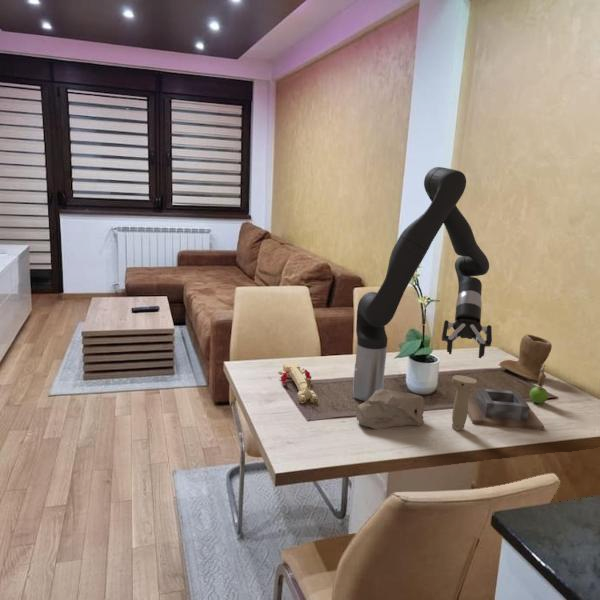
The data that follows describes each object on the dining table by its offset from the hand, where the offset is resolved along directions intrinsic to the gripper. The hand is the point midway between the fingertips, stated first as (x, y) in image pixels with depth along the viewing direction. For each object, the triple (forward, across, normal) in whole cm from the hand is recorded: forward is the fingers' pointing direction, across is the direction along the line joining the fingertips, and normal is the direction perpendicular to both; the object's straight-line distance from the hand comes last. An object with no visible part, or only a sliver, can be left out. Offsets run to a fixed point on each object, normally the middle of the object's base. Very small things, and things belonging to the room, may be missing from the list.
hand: (465, 355), depth 154 cm
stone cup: (-17, +24, +43) cm, 53 cm away
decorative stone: (+24, -19, +2) cm, 30 cm away
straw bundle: (+14, -50, +12) cm, 54 cm away
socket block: (+11, +12, +15) cm, 22 cm away
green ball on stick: (+1, +25, +25) cm, 36 cm away
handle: (+21, 0, +5) cm, 22 cm away
